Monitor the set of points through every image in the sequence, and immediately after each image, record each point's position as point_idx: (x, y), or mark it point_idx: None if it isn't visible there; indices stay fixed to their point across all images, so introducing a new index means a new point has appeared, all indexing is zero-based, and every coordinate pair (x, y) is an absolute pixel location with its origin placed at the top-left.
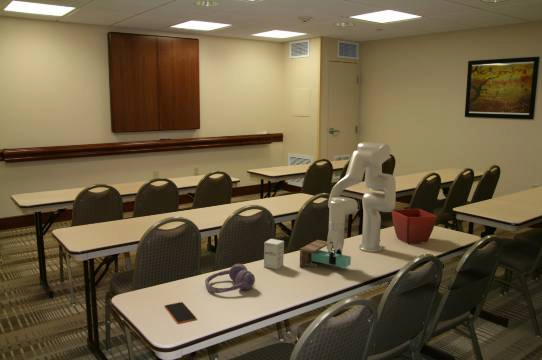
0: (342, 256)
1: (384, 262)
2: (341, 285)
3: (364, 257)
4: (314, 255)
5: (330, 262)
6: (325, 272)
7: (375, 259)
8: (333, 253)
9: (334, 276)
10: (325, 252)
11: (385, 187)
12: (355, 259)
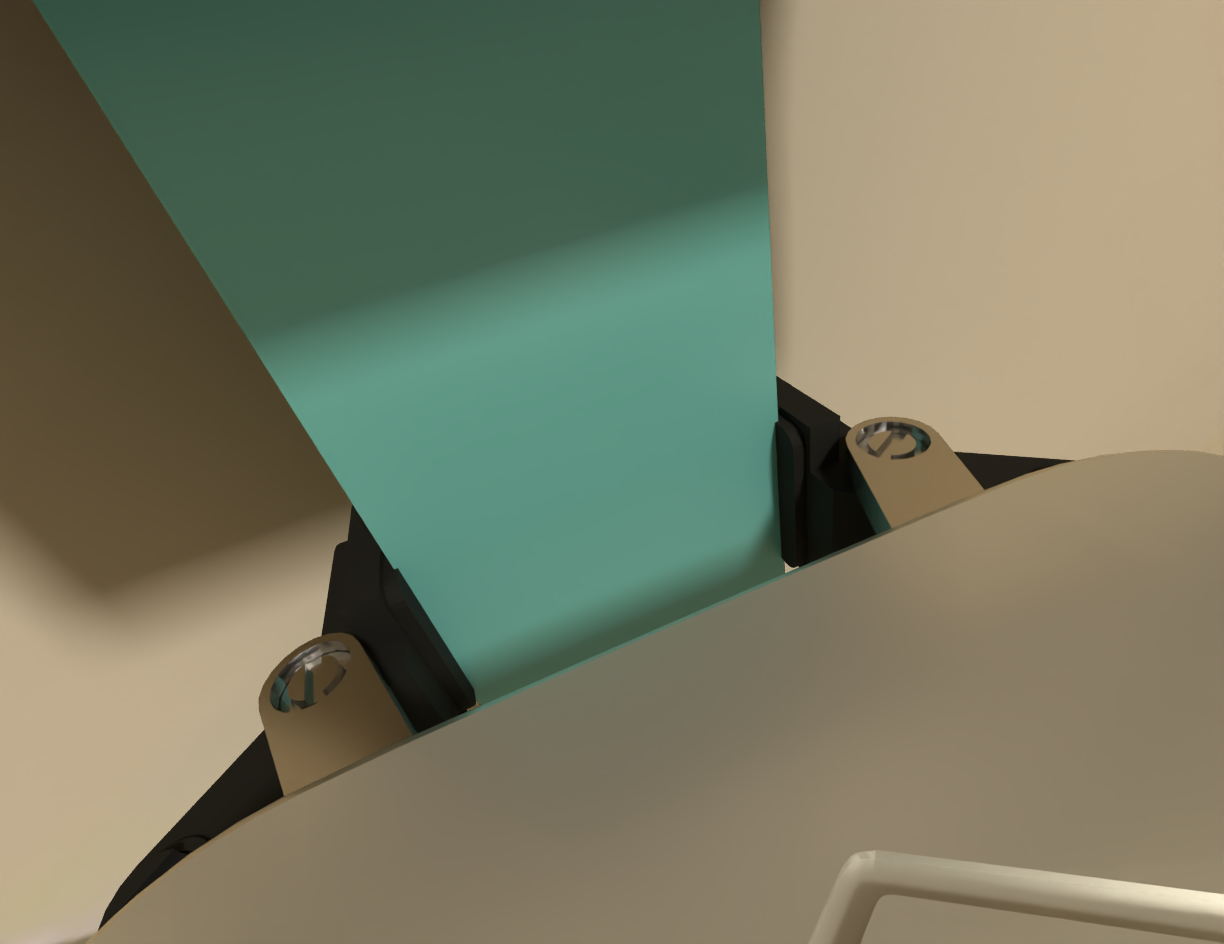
0: None
1: None
2: (115, 890)
3: (1173, 317)
4: None
5: (344, 547)
6: (189, 466)
7: (1129, 441)
8: (728, 399)
9: (238, 660)
10: (614, 96)
11: None
12: (1071, 297)
